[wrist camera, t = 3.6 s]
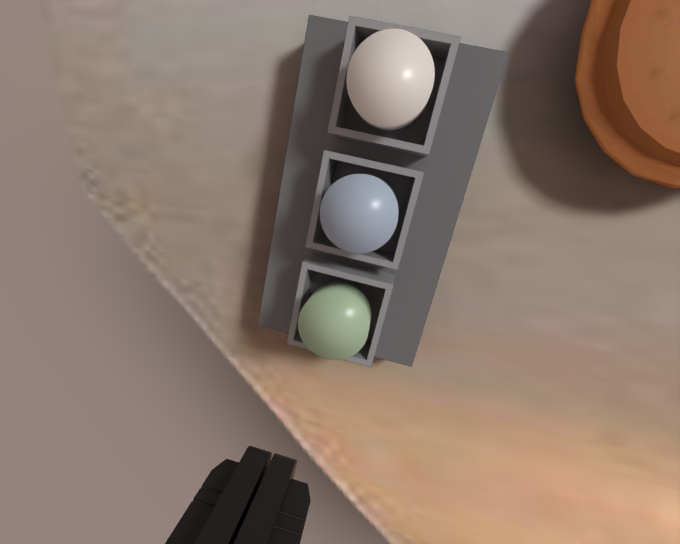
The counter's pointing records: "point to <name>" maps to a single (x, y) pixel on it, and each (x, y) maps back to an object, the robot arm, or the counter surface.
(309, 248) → the button panel
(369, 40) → the white button
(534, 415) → the counter surface
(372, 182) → the bluegrey button
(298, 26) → the counter surface
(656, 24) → the pie
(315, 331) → the green button
